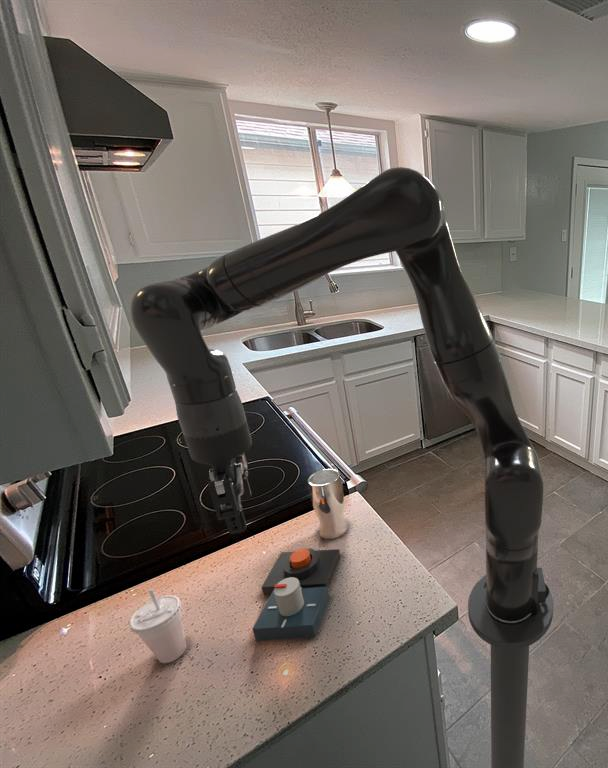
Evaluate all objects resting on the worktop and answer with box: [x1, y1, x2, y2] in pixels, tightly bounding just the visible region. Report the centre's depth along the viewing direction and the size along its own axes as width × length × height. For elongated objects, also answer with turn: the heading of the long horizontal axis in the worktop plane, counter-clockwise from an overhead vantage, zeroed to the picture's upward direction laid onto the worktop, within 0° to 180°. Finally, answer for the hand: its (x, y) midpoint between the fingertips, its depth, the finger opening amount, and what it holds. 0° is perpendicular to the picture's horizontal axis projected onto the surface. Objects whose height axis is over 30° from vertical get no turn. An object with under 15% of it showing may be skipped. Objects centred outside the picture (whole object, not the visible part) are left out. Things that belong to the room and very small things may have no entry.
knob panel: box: [252, 587, 331, 642], centre depth 75 cm, size 10×8×3 cm
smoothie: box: [128, 587, 187, 664], centre depth 67 cm, size 6×6×14 cm
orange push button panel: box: [261, 547, 342, 596], centre depth 84 cm, size 12×9×4 cm
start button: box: [290, 548, 311, 569], centre depth 83 cm, size 4×4×2 cm
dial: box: [274, 577, 304, 616], centre depth 73 cm, size 4×4×5 cm
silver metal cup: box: [307, 468, 349, 540], centre depth 94 cm, size 7×7×15 cm
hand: (241, 514), depth 64 cm, fingers open, 8 cm apart
